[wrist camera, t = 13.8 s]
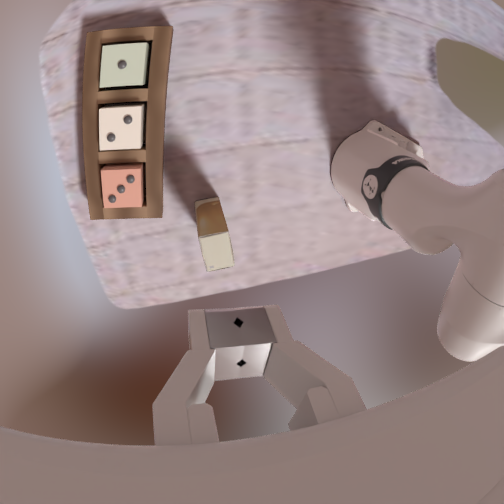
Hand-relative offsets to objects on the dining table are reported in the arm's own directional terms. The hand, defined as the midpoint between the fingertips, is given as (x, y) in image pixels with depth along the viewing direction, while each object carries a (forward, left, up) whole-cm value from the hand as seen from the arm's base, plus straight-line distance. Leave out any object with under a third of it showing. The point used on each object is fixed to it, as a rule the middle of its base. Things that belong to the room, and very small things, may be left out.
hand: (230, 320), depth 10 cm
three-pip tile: (+10, +9, -39) cm, 41 cm away
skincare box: (-4, +16, -39) cm, 43 cm away
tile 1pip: (+10, -9, -39) cm, 41 cm away
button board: (+10, 0, -39) cm, 40 cm away
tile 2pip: (+10, 0, -39) cm, 40 cm away
